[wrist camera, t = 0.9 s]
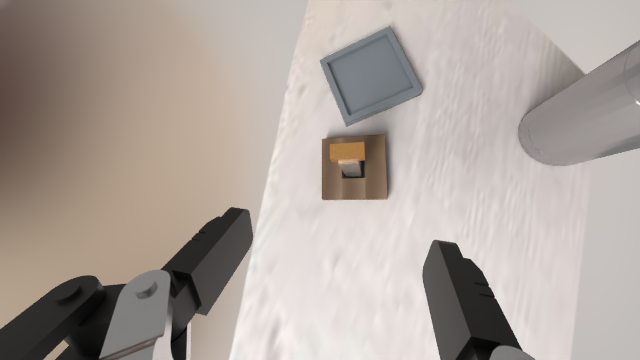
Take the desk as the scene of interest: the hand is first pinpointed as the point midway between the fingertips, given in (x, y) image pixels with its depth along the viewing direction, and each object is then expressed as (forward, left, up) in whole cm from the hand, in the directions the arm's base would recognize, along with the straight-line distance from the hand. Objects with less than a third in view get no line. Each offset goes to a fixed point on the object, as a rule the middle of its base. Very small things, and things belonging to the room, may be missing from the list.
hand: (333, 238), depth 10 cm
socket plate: (-2, -8, -27) cm, 28 cm away
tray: (-10, -22, -27) cm, 36 cm away
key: (-2, -8, -27) cm, 28 cm away
